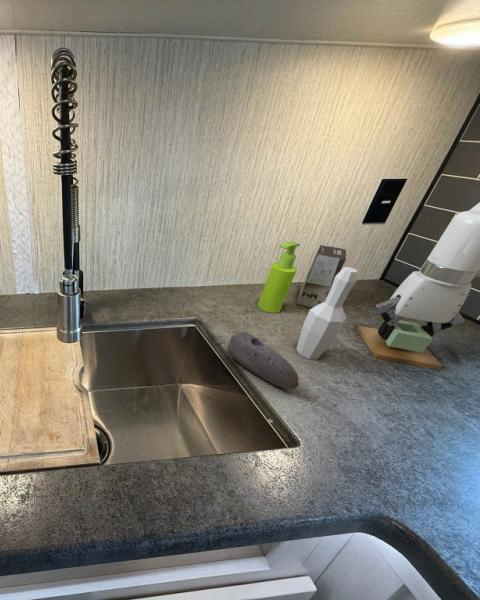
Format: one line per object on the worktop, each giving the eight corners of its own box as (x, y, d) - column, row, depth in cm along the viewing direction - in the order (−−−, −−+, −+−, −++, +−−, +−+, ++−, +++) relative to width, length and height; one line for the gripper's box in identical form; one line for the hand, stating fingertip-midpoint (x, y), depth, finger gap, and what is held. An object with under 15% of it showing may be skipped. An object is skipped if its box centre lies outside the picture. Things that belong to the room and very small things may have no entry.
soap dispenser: (250, 305, 92) (272, 241, 82) (267, 300, 94) (290, 237, 84) (267, 315, 88) (293, 249, 77) (284, 310, 90) (312, 245, 79)
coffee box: (321, 310, 90) (347, 259, 82) (296, 303, 93) (318, 253, 85) (323, 297, 96) (346, 249, 88) (299, 291, 99) (319, 244, 91)
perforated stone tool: (299, 391, 64) (313, 366, 60) (284, 401, 62) (297, 375, 58) (236, 349, 75) (244, 326, 71) (221, 356, 73) (229, 333, 69)
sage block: (408, 336, 76) (417, 323, 74) (422, 352, 71) (433, 338, 69) (376, 330, 78) (384, 317, 76) (388, 346, 73) (397, 332, 71)
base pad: (411, 338, 79) (421, 324, 77) (440, 370, 69) (452, 355, 67) (355, 329, 82) (363, 315, 80) (375, 358, 73) (385, 343, 70)
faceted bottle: (306, 342, 77) (346, 261, 66) (330, 359, 72) (378, 274, 61) (286, 347, 76) (323, 265, 64) (309, 364, 71) (354, 278, 59)
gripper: (487, 271, 66) (435, 338, 75) (387, 259, 71) (351, 323, 80) (515, 287, 60) (455, 357, 69) (404, 273, 64) (362, 341, 74)
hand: (400, 339), depth 74 cm, fingers closed on sage block, 6 cm apart
